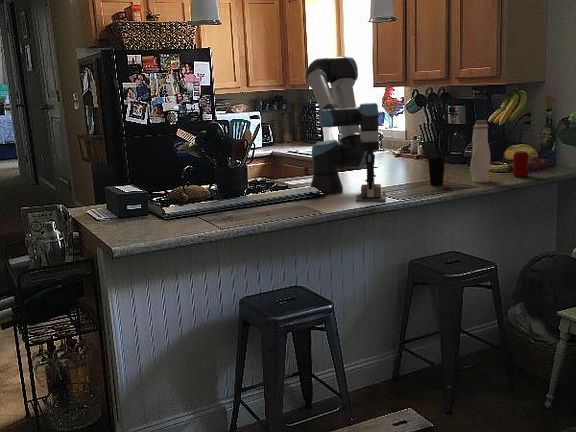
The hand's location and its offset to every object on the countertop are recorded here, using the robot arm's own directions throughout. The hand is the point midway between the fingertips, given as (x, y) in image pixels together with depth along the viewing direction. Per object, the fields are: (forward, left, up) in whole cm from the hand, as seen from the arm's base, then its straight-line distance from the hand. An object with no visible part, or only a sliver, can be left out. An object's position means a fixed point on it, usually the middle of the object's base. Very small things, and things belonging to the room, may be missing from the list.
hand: (371, 194), depth 269 cm
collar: (0, 0, 0) cm, 0 cm away
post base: (0, 0, -2) cm, 2 cm away
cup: (+29, +32, -2) cm, 43 cm away
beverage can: (+69, +48, -2) cm, 84 cm away
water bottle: (+49, +39, -2) cm, 63 cm away
